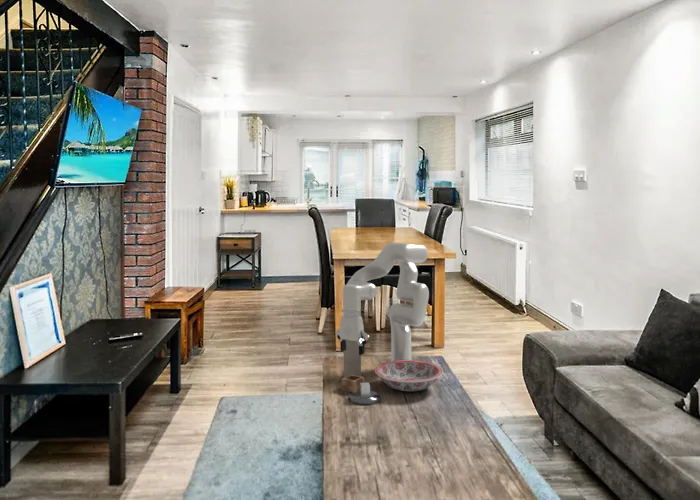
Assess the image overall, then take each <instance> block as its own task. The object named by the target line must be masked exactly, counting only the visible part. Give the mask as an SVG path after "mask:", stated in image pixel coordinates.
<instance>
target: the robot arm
mask: <svg viewBox="0 0 700 500" xmlns="http://www.w3.org/2000/svg"><path fill="white" fill-rule="evenodd" d="M428 256H429V251H428V249H427V247H426V246H425V245H423V244H413V243H412V244H411V243H404V242H403V243H402V242H389V243H387V244H386V245H385V246H384V247H383V248H382V250H380V252H379V253H378V255H377V256H376V258H375V259H374V261H371V263H369V264H367V265H366V266H364V267H362V268H360V269H359V270H357V271H355V272H354V273H353V275H352V276H351V277H350V278H349V280H348V281H347V283H346V284H345V285H343V287H342V308H343V309H341V313H342V316H341V318H340V324H339V329H336V330H335V334H336V338H337V340H338V342H339V343H340V352H343V351H345V350H346V341H345V340H350V341H358V343H359V344H360V346H359V355H361V356H362V355H364V354H365V351H366V350H365V345H366V344H367V343H368V342H369V339H370V337H371V336H370V335H369V334H368V333H366V332H365V330H364V329H365V328H364V321H363V316H362V309H361V307H362V302H361V301H370V300H372V299H374V298H375V297H376V296H377V294H378V289H377V286H376V285H375V284H374V283H372V282H369V281H371V280H375V279H380V278H383V277H385V276H387V275H388V274H389V272H391V270H392V268H393V267H394V266H395V265H396V263H398V265H399V271H400V272H399V277H398V281H397V282H398V283H397V288H396V293H395V294H396V299H398V300H400V301H403V302H407V303H400V302H399V303H395V304H392V305H391V306H390V308H389V310H388V317H389V322H390V332H391V338H390V339H391V344H390V345H391V348H390V349H391V360H390V361H398V360H412V331H411V326H412V327H420V326H422V325H423V323H424V322H425V319H426V314H427V308H428V304H429V299H430V290H429V288H428V286H427V285H426V284H425V283H421V282H418V276H419V271H418V270H419V269H418V268H417V266H416V264H422V263H425V262H426V261H427V259H428ZM408 303H413V304H408Z"/></svg>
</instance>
